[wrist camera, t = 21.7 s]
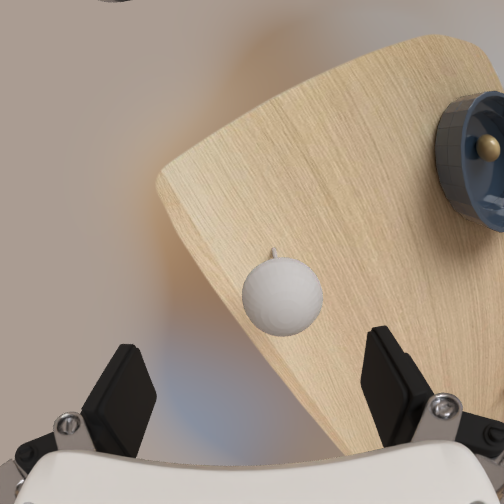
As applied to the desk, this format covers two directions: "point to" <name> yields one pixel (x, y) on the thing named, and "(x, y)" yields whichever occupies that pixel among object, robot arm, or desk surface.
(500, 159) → the bowl
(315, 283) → the lollipop
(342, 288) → the desk surface
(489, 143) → the bead
